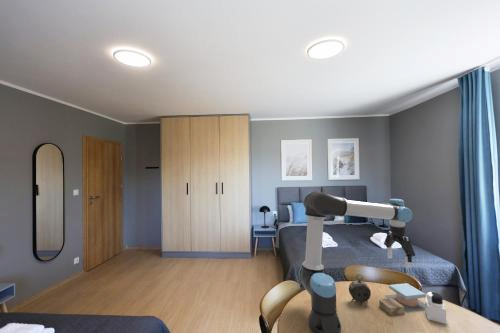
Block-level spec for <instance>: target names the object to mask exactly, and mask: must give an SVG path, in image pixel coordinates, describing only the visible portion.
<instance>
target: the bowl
mask: <svg viewBox="0 0 500 333" xmlns="http://www.w3.org/2000/svg"><path fill="white" fill-rule="evenodd" d="M395 294H396V296H397V301H398V302H399V303H401V304H402V305H405V306H408V307H417V306H418V300H419V298H416V299H404V298H403V297H401V296H400V295H399V294H397V293H396V292H395Z"/></svg>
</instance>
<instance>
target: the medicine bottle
mask: <svg viewBox="0 0 500 333" xmlns="http://www.w3.org/2000/svg"><path fill="white" fill-rule="evenodd" d="M443 299H444V298H443V296H442V295H441V294H439V293H437V292H434V291H429V292H427V293H426V298H425V299H424V304H425V309H426V310H425V314H426V317H427V319H428V320H430V321H434V322H437V323H441V324H444V325H445V324H446V325H447V324H448V321H447V308H446V307H445V305H444V302H443Z"/></svg>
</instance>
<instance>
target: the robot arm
mask: <svg viewBox="0 0 500 333" xmlns="http://www.w3.org/2000/svg"><path fill="white" fill-rule="evenodd" d="M302 204H303V207H304V208H305V209H304V215H305V217H306V218H307V224H306V239H305V240H306V241H305V255H304V256H305V258H304V261H303V262H302V263H301V267H300V268H299V270H298V279H299V282H300V283H301V285H302V287H303V288H304V289H305V290H306V292H307V293H308V294H309V295H310V302H311V303H310V304H311V310H310V313H309V316H308V320H307V321H308V322H307V323H308V328H309V330H310V331H311V332H312V333H313V332H314V333H342V324H341V320H340V318H339V315H338V312H337V311H338V310H337V287H336V282H335V279H334V278H333V277H332V276H331V275H329V274H326V273H324V271H325V270H324V269H325V266H324V265H323V264H322V253H323V252H322V251H323V236H324V220H326V219H327V217H329V216H330V217H344V216H353V217H361V218H362V217H363V218H372V219H381V220H389V230H388V231H386V232H387V233H386V237H385V239H384V241H383V245H384V246H385V247H386V252H387V254H386V255H387V259H388V260H389V259H393V245H394V243H395V242H397V243H399V245H400V246H401V248H402V249H403V251H404V253H405V257H404V258H405V268H406V269H411V268H412V262H413V257H415V256H416V253H415V251H414V248H413V246H412V244H411V243H412V242H411V240H410V237H409V236H405V235H406V223H409V222H411V220H412V219H413V211H412V210H411V209H410V208H409V207H406V206H405V201H404V200H403V199H400V198H389V199H388V202H375V203H374V202H368V201H367V202H366V201H359V200H358V201H357V200H350V199H346V198H345V197H343V196H337V195H332V194H329V193H326V192H320V191H310V192H308V193H306V194H305V195H304V196H303V200H302Z"/></svg>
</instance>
